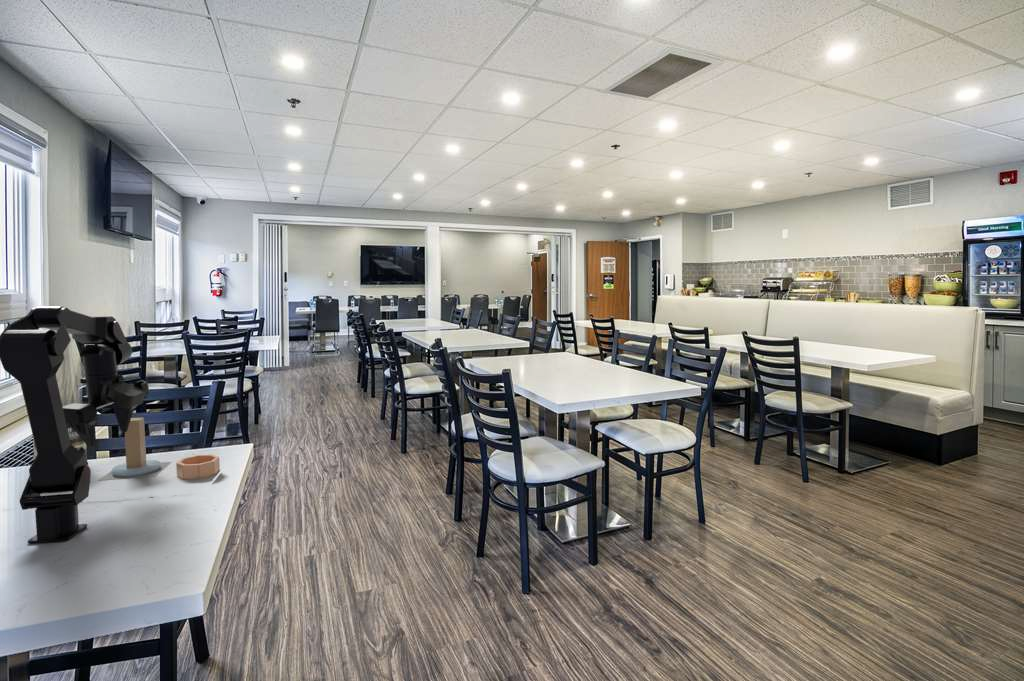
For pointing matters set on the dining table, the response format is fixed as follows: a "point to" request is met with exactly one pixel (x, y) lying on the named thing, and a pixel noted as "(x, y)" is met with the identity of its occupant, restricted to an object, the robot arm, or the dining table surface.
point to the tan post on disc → (135, 453)
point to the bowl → (197, 466)
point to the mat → (111, 477)
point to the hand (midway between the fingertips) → (108, 439)
